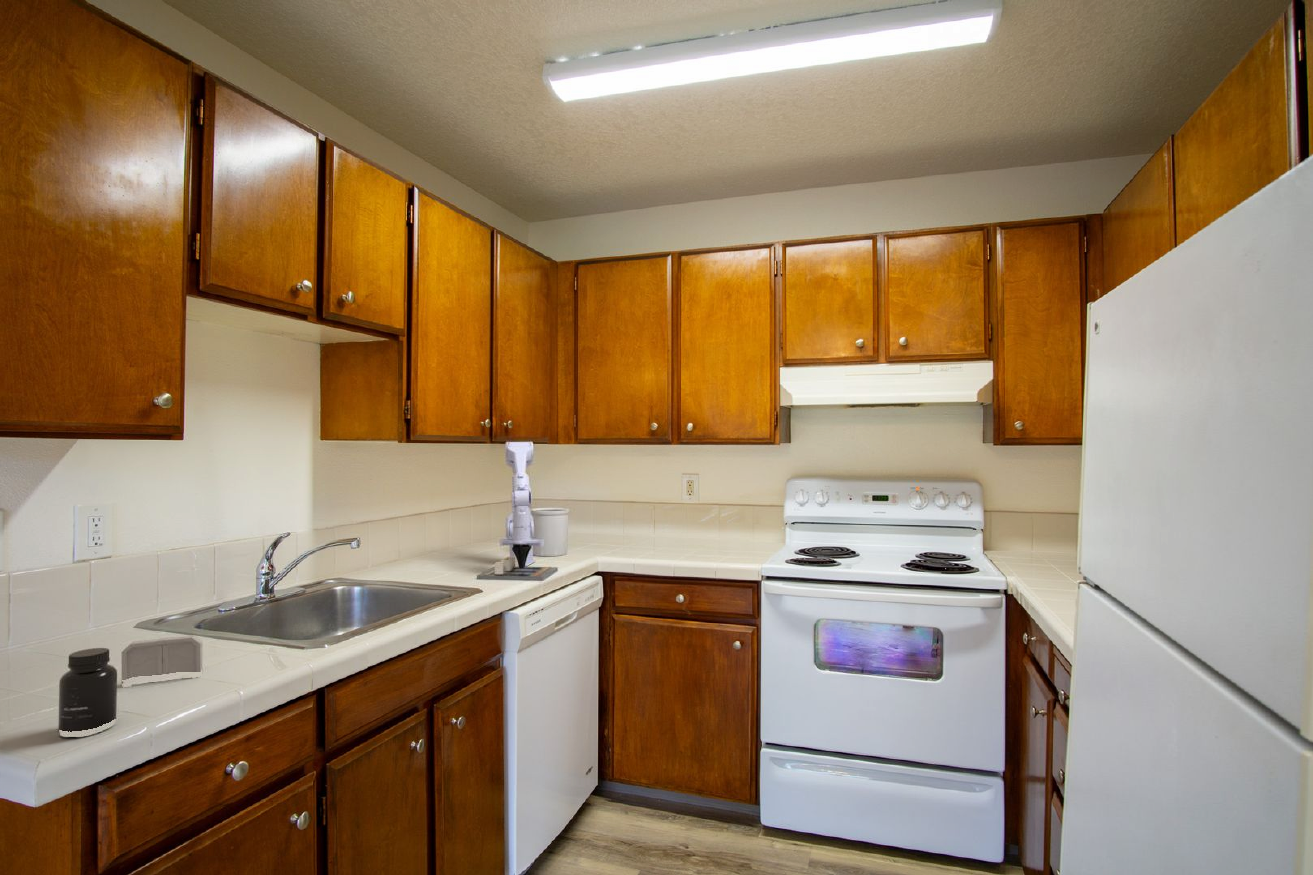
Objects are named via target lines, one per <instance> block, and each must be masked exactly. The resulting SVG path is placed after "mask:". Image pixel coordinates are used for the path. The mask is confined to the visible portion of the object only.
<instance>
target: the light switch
mask: <svg viewBox="0 0 1313 875" xmlns="http://www.w3.org/2000/svg"><path fill="white" fill-rule="evenodd" d="M201 670H202V671H203V640H202V639H200V638H198V637H197V635H195V634H193V635H184V636H175V637H163V638H155V639H146V640H145V639H143V640H135V641H132V642H131V643H130V644H128V645H127V646H126V648H124V649H123V650H122V651H121V681H122V680H126V679H129V678H132V677H138V676H152V675H162V674H169V673H176V672H201Z"/></svg>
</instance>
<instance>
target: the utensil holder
mask: <svg viewBox="0 0 1313 875" xmlns="http://www.w3.org/2000/svg"><path fill="white" fill-rule="evenodd" d="M569 514H570V509H569V508H565V507H564V508H563V507H538V508H532V509H531V508H530V515H531V516H532V517H533V522H534V536H533V538H531V539H539V540H544V546H533V556H536V557H559V556H565V555H567V554H568V546H569V545H568V541H569Z"/></svg>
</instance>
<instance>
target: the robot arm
mask: <svg viewBox="0 0 1313 875" xmlns="http://www.w3.org/2000/svg"><path fill="white" fill-rule="evenodd" d="M504 446H505V463H506V466H509V467H510V468H511V469H512V473H513V474H512V475H513V476H512V478H511V482H512V483H511V486H512V487H511V488H512V492H511V496H510V497H511V503H510V504H511V509H512V510H511V511H512V513H510V514H509V515H507V517H506V518H505V519H506V520H505V537H506V538H502V539H500V540H499V546H509V556H516V558H517V561H518V566H519V568H524V567H529V565H532V564H533V563H535V562H536V560H535V559H534V555H533V546H544V540H539V539H532V538H533V536H534V522H533V517H532V514H531V507H532V505H533V495H532V494H533V493H532V490H531V487H530V484H531V483H530V476H529V475H528V474H527V473H526V471H527V467H528V466H531V465H533V461H534V443H533V441H506V442H505V445H504Z"/></svg>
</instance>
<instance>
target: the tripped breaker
mask: <svg viewBox="0 0 1313 875" xmlns="http://www.w3.org/2000/svg"><path fill="white" fill-rule="evenodd" d="M500 561H502V562H506V571H510V570H512V559H509V558H507V557H505V558H502V559H501V560H500Z"/></svg>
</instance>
